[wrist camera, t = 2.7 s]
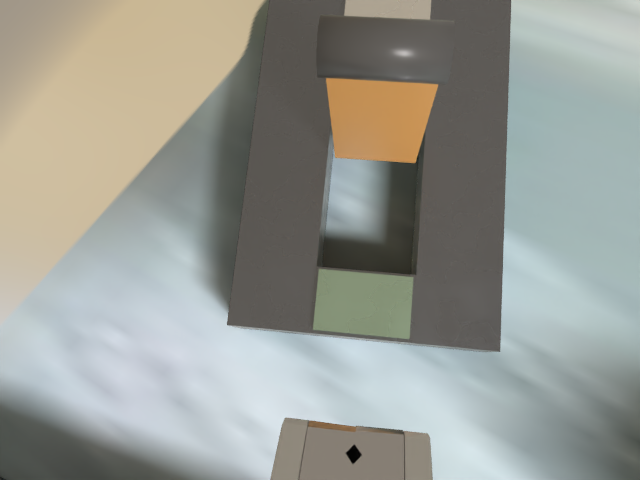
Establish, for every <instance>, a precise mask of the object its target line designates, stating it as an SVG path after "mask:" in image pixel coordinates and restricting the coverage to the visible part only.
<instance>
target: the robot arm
mask: <svg viewBox="0 0 640 480" xmlns="http://www.w3.org/2000/svg"><path fill="white" fill-rule="evenodd" d="M270 480H433V477H432V461H431V445H430V437H429V435H428V433H418V432H408V431H404V432H403V430H395V429H385V428H374V427H363V426H356V427H353V426H346V425H339V424H331V423H324V422H317V421H309V420H301V419H293V418H285V419H284V422H283V424H282V428H281V432H280V437H279V442H278V447H277V451H276V456H275V461H274V465H273V470H272V475H271V479H270Z"/></svg>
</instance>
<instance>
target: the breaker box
mask: <svg viewBox="0 0 640 480" xmlns="http://www.w3.org/2000/svg"><path fill="white" fill-rule="evenodd" d="M321 15H340V16H362V17H383V18H405V19H427V20H449V21H455V42H454V52H453V60H452V66H451V72H450V76H449V80H448V83H447V85H441V84H438V88H437V91H436V94H435V98H434V101H433V105H432V108H431V111H430V115H429V118H428V122H427V125H426V129H425V132H424V135H423V139H422V142H421V146H420V149H419V158H418V173H417V188H416V203H415V219H414V234H413V249H412V264H411V275H410V274H399V273H387V272H376V271H364V270H352V269H341V268H329V267H322V260H323V250H324V240H325V230H326V219H327V209H328V199H329V189H330V179H331V169H332V159H333V149H334V142H333V134H332V125H331V117H330V109H329V100H328V92H327V83H326V78H318V76H317V67H316V49H317V33H318V24H319V19H320V16H321ZM510 20H511V0H270V1H269V8H268V16H267V23H266V31H265V39H264V46H263V54H262V62H261V69H260V77H259V84H258V92H257V100H256V107H255V115H254V123H253V130H252V138H251V145H250V153H249V161H248V168H247V176H246V184H245V191H244V199H243V206H242V214H241V222H240V229H239V237H238V245H237V252H236V260H235V268H234V275H233V283H232V290H231V298H230V306H229V313H228V321H227V325H229V326H234V327H238V328H244V329H254V330H264V331H274V332H284V333H295V334H305V335H315V336H325V337H336V338H346V339H356V340H366V341H376V342H387V343H397V344H407V345H417V346H427V347H438V348H448V349H458V350H468V351H479V352H500V336H501V304H502V273H503V241H504V209H505V178H506V146H507V115H508V83H509V52H510Z"/></svg>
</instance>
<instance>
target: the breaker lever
mask: <svg viewBox="0 0 640 480" xmlns="http://www.w3.org/2000/svg"><path fill="white" fill-rule="evenodd" d="M454 42H455V21H449V20H427V19H405V18H383V17H362V16H340V15H321V16H320V19H319V24H318V33H317V49H316V67H317V76H318V78H326V83H327V92H328V100H329V109H330V117H331V125H332V134H333V142H334V151H335V158H347V159H362V160H376V161H391V162H406V163H416V159H417V156H418V152H419V149H420V146H421V142H422V139H423V135H424V132H425V129H426V125H427V122H428V118H429V115H430V111H431V108H432V105H433V101H434V98H435V94H436V91H437V88H438V84H441V85H447V83H448V80H449V76H450V72H451V66H452V60H453V52H454Z"/></svg>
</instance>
